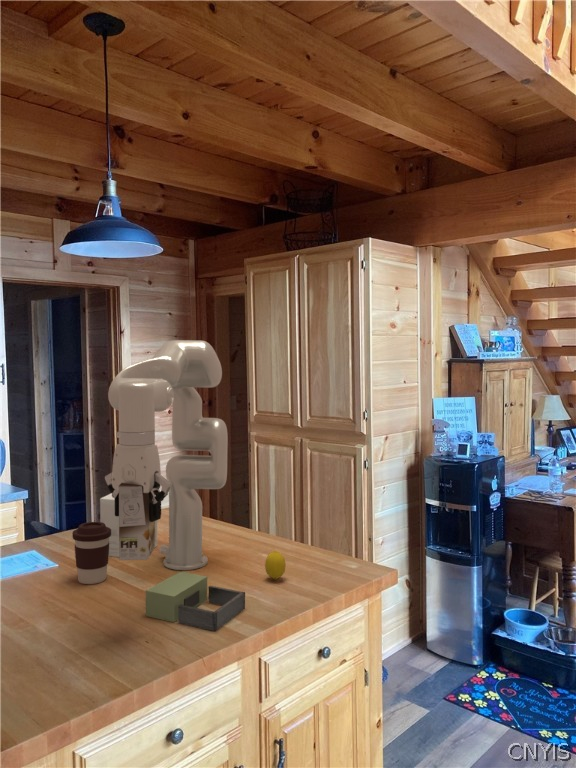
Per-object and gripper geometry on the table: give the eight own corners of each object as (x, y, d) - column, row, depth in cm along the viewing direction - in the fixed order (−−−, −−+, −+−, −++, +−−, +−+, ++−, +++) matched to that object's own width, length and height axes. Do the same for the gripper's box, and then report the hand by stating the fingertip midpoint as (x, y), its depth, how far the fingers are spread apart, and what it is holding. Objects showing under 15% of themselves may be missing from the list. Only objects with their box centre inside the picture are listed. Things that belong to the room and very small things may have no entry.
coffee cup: (119, 576, 170) (119, 522, 169) (93, 589, 161) (93, 532, 160) (91, 571, 174) (90, 518, 173) (64, 582, 165) (64, 527, 164)
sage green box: (145, 615, 145) (145, 590, 145) (180, 594, 158) (180, 571, 158) (175, 622, 142) (175, 596, 141) (208, 600, 154) (208, 576, 154)
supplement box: (158, 545, 197) (158, 491, 196) (140, 559, 184) (140, 500, 183) (119, 542, 200) (119, 488, 199) (99, 555, 187) (98, 498, 186)
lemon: (283, 584, 166) (283, 554, 165) (262, 582, 167) (263, 553, 166) (287, 577, 171) (287, 548, 171) (267, 575, 172) (267, 546, 172)
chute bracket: (178, 622, 142) (178, 605, 141) (210, 601, 154) (210, 585, 154) (215, 631, 137) (215, 613, 137) (245, 608, 150) (245, 592, 150)
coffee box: (149, 560, 132) (148, 485, 130) (118, 560, 131) (117, 485, 130) (155, 546, 141) (155, 476, 139) (127, 546, 140) (126, 476, 139)
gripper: (93, 438, 134) (94, 516, 136) (159, 444, 127) (160, 527, 128) (116, 433, 141) (117, 508, 142) (180, 439, 134) (181, 518, 135)
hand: (137, 517), depth 135 cm, fingers closed on coffee box, 8 cm apart
